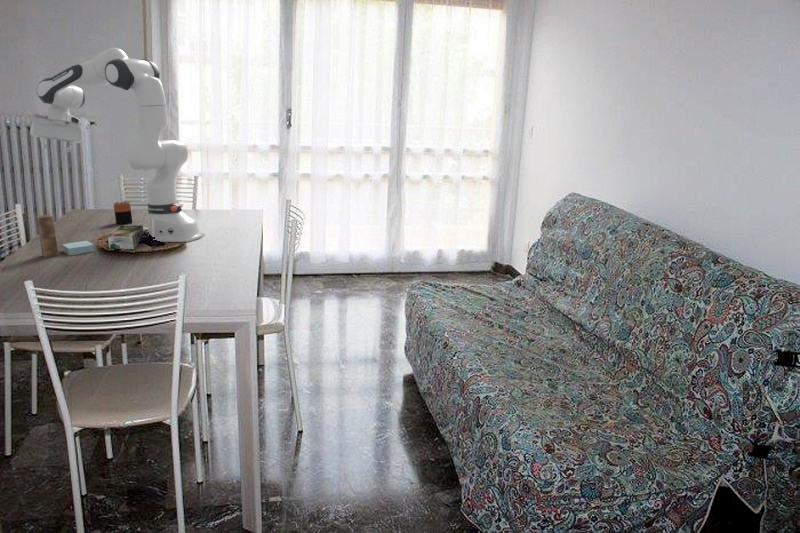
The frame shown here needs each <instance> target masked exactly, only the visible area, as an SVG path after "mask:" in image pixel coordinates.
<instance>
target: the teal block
mask: <svg viewBox="0 0 800 533" xmlns="http://www.w3.org/2000/svg"><path fill="white" fill-rule="evenodd" d="M61 245H62V252H64V253H65V254H67V255H68V256H74V255H81V254H87V253H92V252H93V253H94V252H95V244H94V243H92V242H90V241H88V240H83V241H75V242H68V243H63V244H61Z"/></svg>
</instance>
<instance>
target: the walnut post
mask: <svg viewBox="0 0 800 533" xmlns="http://www.w3.org/2000/svg"><path fill="white" fill-rule="evenodd" d="M35 217H36V223H37V229H38V235H39V236H38V237H39V242H40V247H41V248H40V249H41V253H42V254H41V255H42V257H44V258H47V257H48V258H52V257H54V258H55V257H59V249H58V243H57V238H56V230H55V225H54V224H55V222H54V218H53V216H52V215H51V214H42V215H36V216H35Z"/></svg>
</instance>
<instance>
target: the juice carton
mask: <svg viewBox="0 0 800 533" xmlns="http://www.w3.org/2000/svg"><path fill="white" fill-rule="evenodd" d="M144 232H145V230H144V225H126V226H125V225H121V226H120V227H118V228H117V229H116V230H115V231H114V232H113V233H111V235H109V236H108V237H107V242H108V246H107V247H108V249H109V248H110V249H118V248H125V249H134V248H135V247H136V246H137V245H138V246H139V244H138V243H139V241H140V239H141V237H142V235H143V234H144V235H145V233H144ZM138 246H137V247H138ZM137 247H136V248H137ZM136 248H135V249H136ZM135 249H134V250H135Z"/></svg>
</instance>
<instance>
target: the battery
mask: <svg viewBox="0 0 800 533" xmlns="http://www.w3.org/2000/svg"><path fill="white" fill-rule="evenodd" d="M131 208H132V207H131V203H130V201H128V200H123V201H122V202H120V201H115V202H114V203H113V211H114V216H115V217H114V218H115V224H116V225H128V224H129V225H130V224H132V223H133V218H132V217H133V216H132V209H131Z"/></svg>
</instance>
